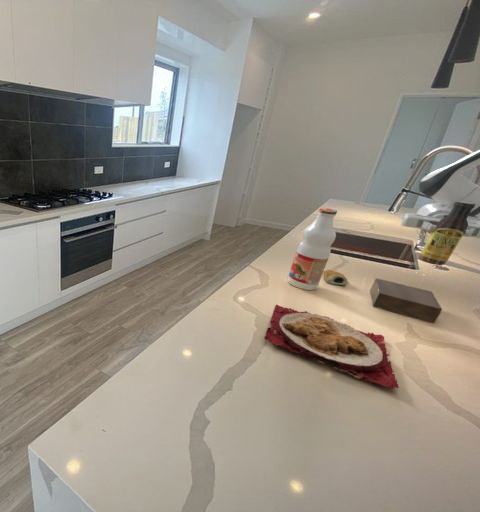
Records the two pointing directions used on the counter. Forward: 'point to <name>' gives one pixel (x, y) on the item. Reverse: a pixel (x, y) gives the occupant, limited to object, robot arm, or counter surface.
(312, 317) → the plate with food
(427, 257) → the sauce bottle
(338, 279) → the pastry
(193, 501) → the counter surface
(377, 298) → the riser
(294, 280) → the fruit juice
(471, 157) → the robot arm
